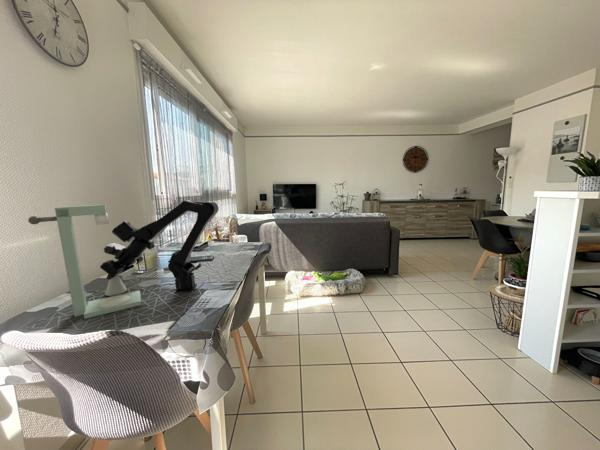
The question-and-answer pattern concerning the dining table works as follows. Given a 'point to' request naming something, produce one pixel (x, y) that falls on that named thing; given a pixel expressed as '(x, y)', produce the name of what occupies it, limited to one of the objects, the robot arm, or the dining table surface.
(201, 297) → the dining table surface
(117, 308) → the bench press
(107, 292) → the flask
